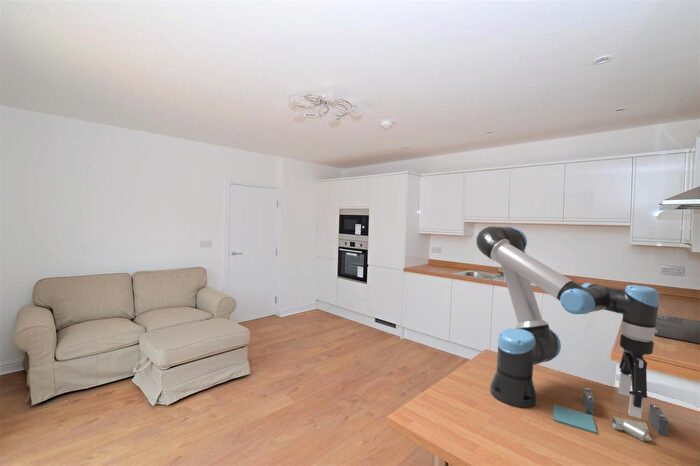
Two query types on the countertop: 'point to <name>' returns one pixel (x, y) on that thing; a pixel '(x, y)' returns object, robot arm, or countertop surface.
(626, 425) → the pipe fitting
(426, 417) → the countertop surface
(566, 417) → the mat
